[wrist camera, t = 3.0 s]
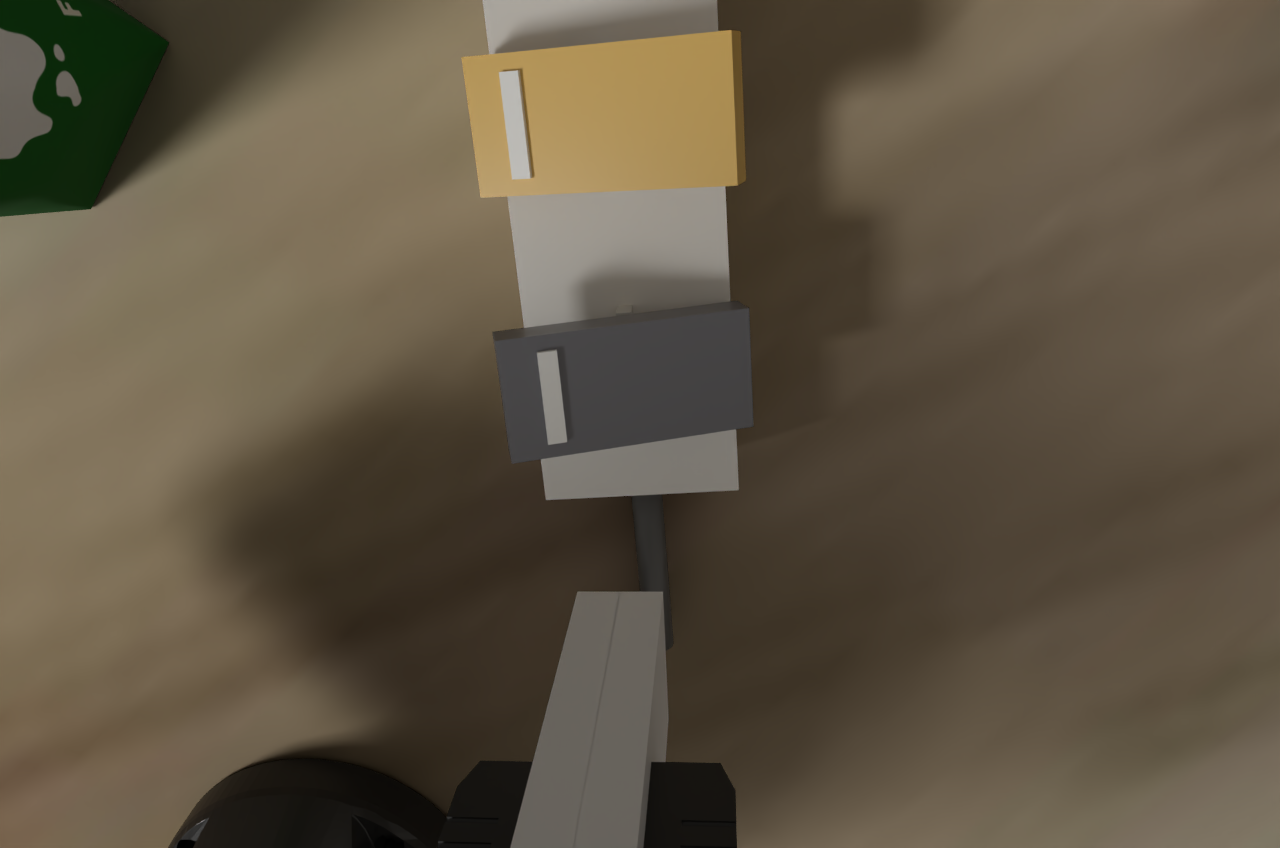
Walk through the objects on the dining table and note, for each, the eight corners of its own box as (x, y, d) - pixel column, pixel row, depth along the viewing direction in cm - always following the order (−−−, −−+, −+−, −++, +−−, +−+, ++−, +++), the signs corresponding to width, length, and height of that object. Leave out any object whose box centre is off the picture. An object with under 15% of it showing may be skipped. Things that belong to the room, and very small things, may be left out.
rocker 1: (497, 192, 29) (478, 198, 28) (480, 57, 27) (459, 57, 26) (746, 180, 26) (736, 186, 25) (740, 31, 25) (730, 29, 24)
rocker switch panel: (579, 626, 39) (565, 700, 35) (467, -327, 28) (422, -411, 23) (741, 619, 39) (748, 694, 34) (696, -354, 27) (698, -446, 22)
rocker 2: (508, 450, 30) (512, 465, 28) (492, 332, 28) (495, 342, 27) (742, 415, 31) (755, 427, 30) (737, 300, 30) (750, 309, 28)
